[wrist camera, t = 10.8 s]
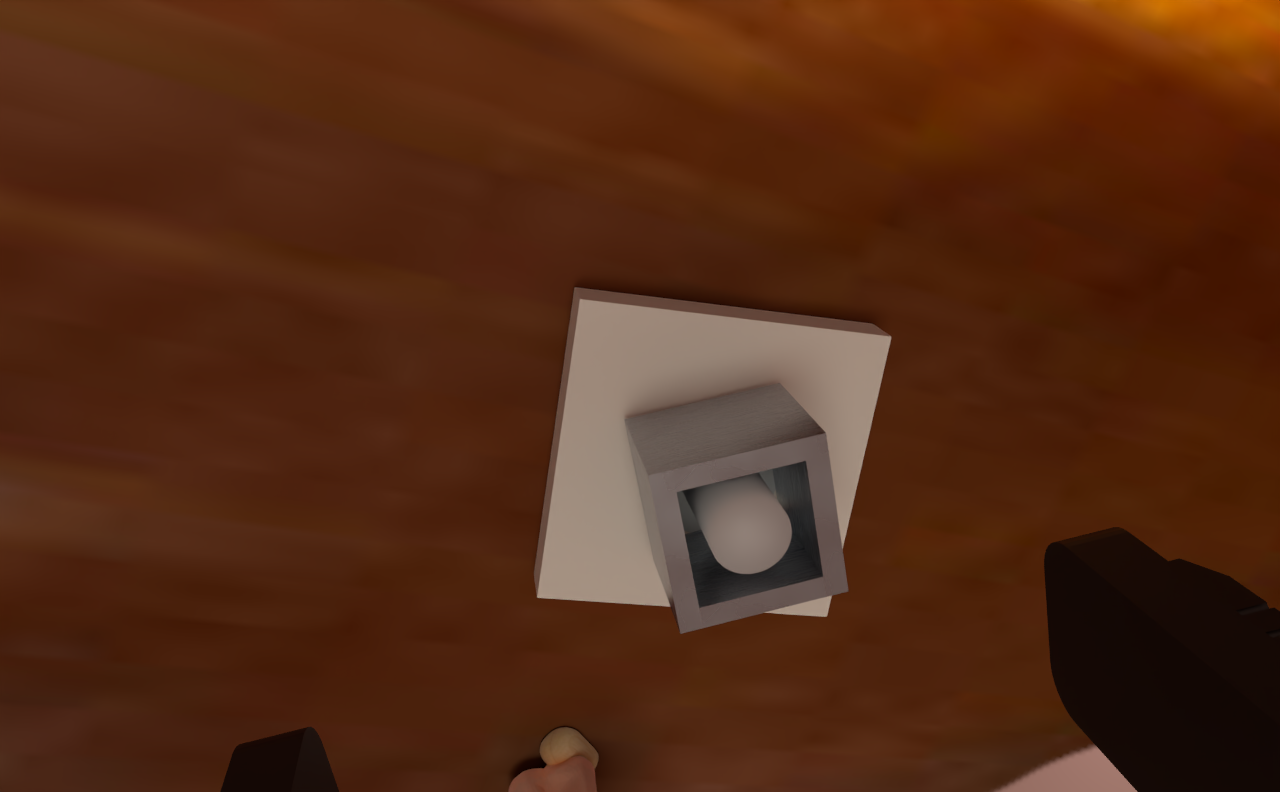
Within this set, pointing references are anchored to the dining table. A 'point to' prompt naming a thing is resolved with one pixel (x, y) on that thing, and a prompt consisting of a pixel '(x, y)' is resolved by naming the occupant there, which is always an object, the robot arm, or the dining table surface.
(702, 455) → the collar
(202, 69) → the dining table surface
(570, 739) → the grandmother figurine
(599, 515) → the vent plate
